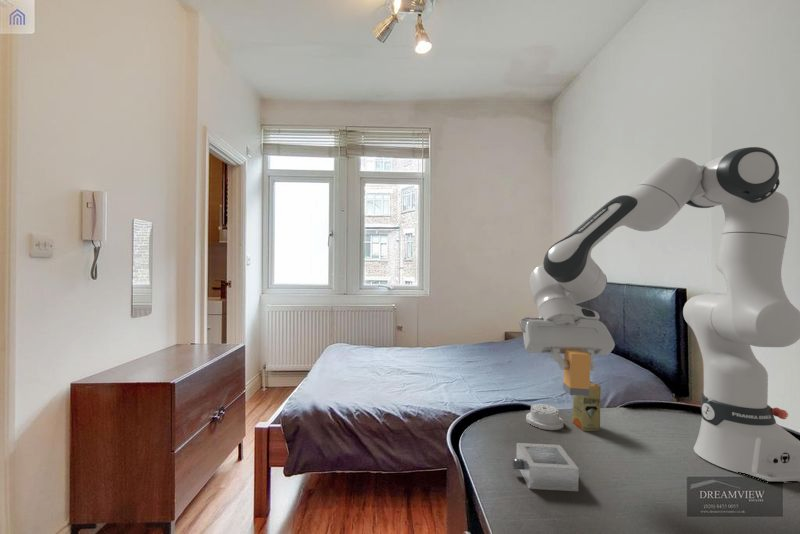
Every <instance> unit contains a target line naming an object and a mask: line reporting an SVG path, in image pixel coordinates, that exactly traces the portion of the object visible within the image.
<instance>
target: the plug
mask: <svg viewBox="0 0 800 534" xmlns="http://www.w3.org/2000/svg"><path fill="white" fill-rule="evenodd" d="M590 356H591V355H590V354H588V353H586V352H584V351H581V350H565V352H564V354H563V359H565V360H568V363H569V365H570V368H568V370H563V379H562V380H563V381H562V382H563V383H562V385H563V386H562V390H564V391H565V392H566V393H568V394H569V395H570V396H573V395H582V396H589V382H591V380H590V379H591V378H590V376H591V375H590V374H591V371H590Z"/></svg>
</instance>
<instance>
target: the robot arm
mask: <svg viewBox="0 0 800 534" xmlns="http://www.w3.org/2000/svg"><path fill="white" fill-rule="evenodd" d="M779 177H780V166H779V163H778V159H777V158H776V157H775V155H774V154H773V152H771V151H770V150H768V149H766V148H764V147H759V146H750V147H748V146H747V147H742V148H737V149H735V150H732V151H730V152H728V153H726V154H723V155H720V156H718V157H715V158H714V159H713V158H712V159H711V160H709V161H708V162H706V163H704V164H702V165H700V164H699V165H698V164H697V163H695V162H694V161H693V160H690V159H688V158H685V157H684V158H683V157H672V158H670V159H667V160H666V161H664V162H662V163H661V164H660V165H658V166H657V167H656V168H654V169H653V170H652V171H651V172H650V173H649V174H647V175H646V176H645V177H644V178H643V179H642V180H641V181H640V182H639V183H638V184H637V185H636V186H635V187H634V188H633V189H632V190H631V191H630V192H629V193H627V194H625V195H618V196H616V197H614V198H612V199H610V200H609V201H608V202H606V203H605V204H604V205H603V206H601V207H600V208H599V209H597V210H596V211H595V212H594V213H593V214H592V215H590V217H588V218H587V219H586V220H585V221H583V223H581V224H580V225H579V226H578V227H576V228H575V229H574V230H573V231H572V232H570V233H569V234H568V235H567V236H565V237H564V238H562V239H560V240H558V241H557V242H555V243H554V244H553V245H551V246H550V247H549V248H548V249H547V250H546V253H545V256H544V257H543V258H544V259H543V264H541V265H539V266H537V267H535V268H534V269H533V271H532V272H531V273H530V276H529V288H530V294H531V296H532V299H533V302H534V304H535V305H536V307H537V310H536V311H537V314H538V317H530V316H529V317H528V316H525V317H524V318H522V319H520V321H519V326H520V330H521V331H522V333H523V334H522V335H523V338H522V339H523V344H524V349H525V350H526V351H527V352H528V353H530V354H548V355H549V354H550V356H551V358H552V359H553V360H554V361H555V362H556V363H557V364H558V366H559V369H560V370H561V371H564V370H568V368H570V365H569V363H568V360H565V359H564V356H562V355H564V352H565V350H581V351H584V352H586V353H588V354H590V355H591V356H590V372H591V371H594V369H595V368H596V366H595V364H594V358H595V356H608V355H609V354H611V353H612V351H613V350H614V349H615V346H616V344H615V341H614V339H613V336H612V334H611V333H610V331H609V330H608V327H607V326H606V325H605V324H604V323H603V322H602V321H600V320H599V319H600V314H599V312H597V311H596V310H592V309H589V308H586V307H583V306H580V304H583V303H586V302H589V301H593V300H594V299H596V298H598V297H599V296H601V295H602V294H603V293H604V291H605V290H606V288H607V284H608V278H607V276H606V273H604V271H603V270H602V269H601V268H600V266H599V265H598V263H596V261H595V260H594V259H593V258H592V256H591V253H592V251H593V249H594V248H595V247H596V246H597V245H598V244H600V243H601V242H602V241H603V240H604V239H605V238H606V237H607V236H609V235H610V234H611V233H612V232H614V231H615V230H616V229H618V228H620V227H622V226H625V227H627V228H628V229H632V230H635V231H639V232H652V231H657V230H660V229H661V228H662V227H664V226H666V225H667V224H668V223H669V222H670V221H671V220H672V219H673V218H674V217H675V216H676V215H677V214H678V213H679V212H680V211H681V209H683V208H684V206H686V205H688V206H690V207H693V208H696V209H697V208H698V209H707V208H708V209H709V208H714V207H717V206H718V207H719V206H721V208H722V210H723V212H724V222H723V223H724V224H723V227H722V232H721V236H720V241H719V245H718V251H717V255H716V261H715V267H716V269H717V270H718V272H719V273H721V274H722V276H723V278H724V280H725V284H726V285H725V286H726V293H722V292H709V293H708V292H707V293H701V294H698V295H694V296H691V297H690V298H688V300H687V301H686V302H685V303H684V306H683V309H682V315H683V318H684V320H685V322H686V323H687V325H688V326H689V327H690V329H691V330H692V331H693V334H694V336H695V338H696V341H697V344H698V347H699V351H700V354H701V358H702V364H703V365H702V366H703V392H702V393H701V396H700V411H701V421H700V426H699V430H698V431H699V432H698V434H697V439H696V441H695V444H694V446H693V451H694V453H695V454H696V455H698V456H699V457H700V458H702V459H703V460H705V461H706V462H708V463H711V464H713V465H715V466H717V467H720V468H722V469H724V470H725V469H726V470H727V471H732V472H735V473H738V472H742V473H746V474H750V475H753V476H756V477H759V478H762V479H765V480H767V481H790V480H798V479H800V440H799V439H798V438H796V437H795V436H794V435H792V434H791V433H790V432H788V431H787V430H786V429H785V428H783V427H782V426H781V425H780V424H778V423H777V421H776V419H775V417H777V418H779V419H781V420H786V419H787V418H788V417H789V413H788V412H787V410H784V409H782V408H779V407H771V405H768V399H769V398H768V397H769V394H768V392H769V390H768V388H769V383H768V381H769V375H768V371H767V369H766V367H765V366H764V365H763V364H762V363H761V362H760V360H758V359H757V358H756V355H755V354H754V352H753V349H752V347H751V346H753V347H758V348H785V347H790V346H792V345H794V344H795V343H797V342H798V341H799V340H800V310H799V309H798V308H797V307H796V306H794V304H793V303H791V301H790V300H789V299H788V296H787V295H786V291H785V289H784V285H783V280H782V267H783V266H782V265H783V260H784V255H785V248H786V244H787V238H788V235H789V234H788V233H789V223H790V209H789V208H790V207H789V201H788V200H789V199H788V198H787V197H786V196H785V195H784V194H783V193H781V192H778V191H777V189H778V188H779V185H780V178H779Z"/></svg>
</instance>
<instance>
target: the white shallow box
mask: <svg viewBox="0 0 800 534" xmlns="http://www.w3.org/2000/svg"><path fill="white" fill-rule="evenodd" d="M515 454H516V457H515V458H512V459H511V466H512V469H513V470H519V471H520V473H521V476H522V477H523V479H524V482H525V484H526V485H527V488H528V489H530V490H546V491H562V492H564V491H565V492H579V474H580V473H579V470H580V469H579V467H578V466H577V465H576V463H575V462H574V461H573V459H572V458H571V457H570V456H569V454H568V453H567V452H566V451H565V449H564V448H563V447H562V445H561V444H550V443H549V444H547V443H546V444H545V443H530V442H529V443H527V442H525V443H524V442H516V453H515Z"/></svg>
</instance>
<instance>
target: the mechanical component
mask: <svg viewBox="0 0 800 534" xmlns="http://www.w3.org/2000/svg"><path fill="white" fill-rule="evenodd" d="M525 421H526V423H528V425H530V424H531V426H532V425H533V426H532V427H534V426H535V428H537V427H538V428H537V429H541V430H546V431H557V430H562V429H563V428H564V422H565V421H564V420H563V419H562V418H561V417H560V411H559V409H558V408H556V407H554V406H553V405H548V404H544V403H537V404H535V403H534V404H533V405H530V412H528V413H527V414H526V415H525Z"/></svg>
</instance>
